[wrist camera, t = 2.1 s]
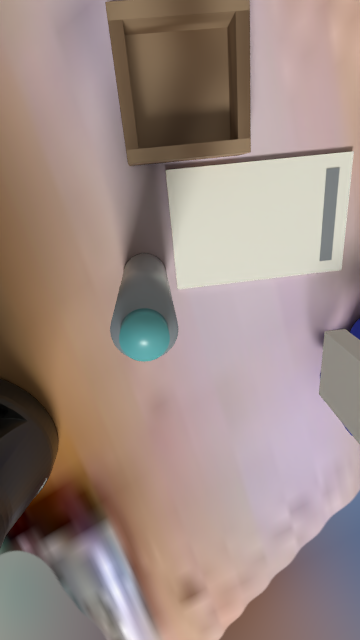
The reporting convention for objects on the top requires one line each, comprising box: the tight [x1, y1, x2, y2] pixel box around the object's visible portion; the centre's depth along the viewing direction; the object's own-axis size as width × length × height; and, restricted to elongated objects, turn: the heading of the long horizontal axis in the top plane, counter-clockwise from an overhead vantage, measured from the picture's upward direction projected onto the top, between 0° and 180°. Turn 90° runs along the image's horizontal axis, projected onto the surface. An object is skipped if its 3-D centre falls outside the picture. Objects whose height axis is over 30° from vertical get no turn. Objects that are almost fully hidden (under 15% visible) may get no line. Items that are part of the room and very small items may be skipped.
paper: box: [165, 151, 354, 289], centre depth 26 cm, size 14×9×1 cm, turn 95°
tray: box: [105, 0, 251, 166], centre depth 21 cm, size 8×8×3 cm
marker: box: [110, 253, 178, 361], centre depth 21 cm, size 3×3×12 cm
